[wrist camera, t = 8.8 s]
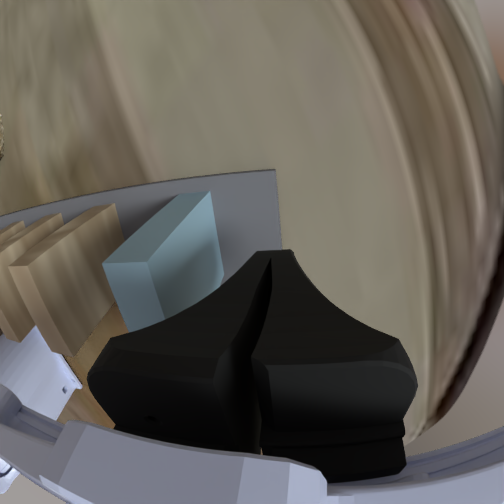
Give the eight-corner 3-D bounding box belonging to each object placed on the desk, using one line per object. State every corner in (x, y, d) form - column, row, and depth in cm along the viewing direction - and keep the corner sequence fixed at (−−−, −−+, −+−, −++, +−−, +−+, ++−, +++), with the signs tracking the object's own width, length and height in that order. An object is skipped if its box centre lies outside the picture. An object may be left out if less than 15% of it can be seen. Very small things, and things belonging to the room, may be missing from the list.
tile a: (114, 203, 15) (27, 265, 8) (135, 276, 17) (73, 357, 10) (93, 206, 15) (7, 266, 9) (114, 276, 17) (51, 351, 11)
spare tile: (210, 190, 14) (146, 261, 8) (224, 274, 16) (186, 375, 10) (179, 194, 14) (101, 263, 8) (196, 274, 16) (147, 370, 10)
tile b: (60, 212, 15) (-19, 267, 9) (82, 276, 17) (20, 343, 11) (45, 215, 16) (-30, 267, 9) (67, 276, 18) (6, 338, 11)
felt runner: (285, 294, 16) (284, 298, 16) (5, 288, 20) (3, 290, 20) (275, 169, 13) (275, 170, 13) (-20, 222, 17) (-23, 223, 17)
